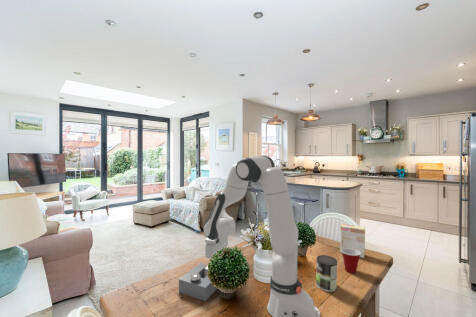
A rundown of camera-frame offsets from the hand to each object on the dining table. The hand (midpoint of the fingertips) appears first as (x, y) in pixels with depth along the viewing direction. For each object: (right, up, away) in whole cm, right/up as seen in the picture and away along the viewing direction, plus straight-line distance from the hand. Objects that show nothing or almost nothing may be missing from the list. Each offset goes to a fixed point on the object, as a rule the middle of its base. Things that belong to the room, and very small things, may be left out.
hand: (217, 259), depth 128 cm
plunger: (-9, -6, -19) cm, 22 cm away
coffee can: (+59, -9, -11) cm, 60 cm away
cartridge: (-2, -6, -3) cm, 7 cm away
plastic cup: (+79, -9, +4) cm, 80 cm away
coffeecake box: (+92, -9, +27) cm, 96 cm away
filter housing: (-6, -8, -13) cm, 16 cm away
